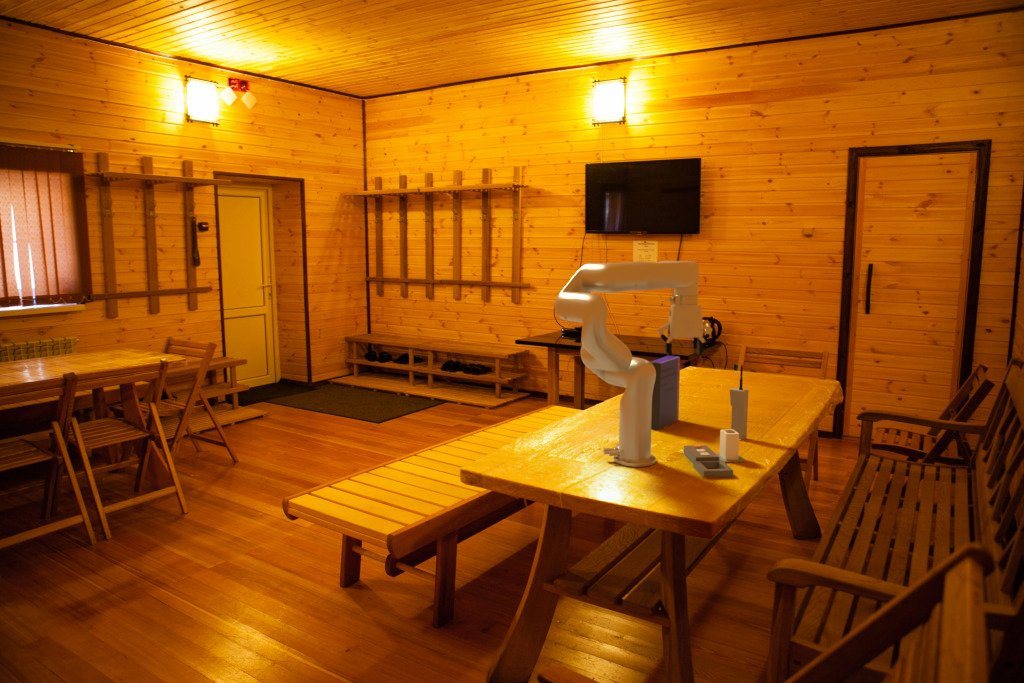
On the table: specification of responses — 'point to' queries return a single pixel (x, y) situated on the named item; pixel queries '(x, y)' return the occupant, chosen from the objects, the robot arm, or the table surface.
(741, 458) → the rubber mat
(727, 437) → the plug
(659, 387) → the cereal box
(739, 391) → the vintage mobile phone
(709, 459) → the charging dock
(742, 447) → the table surface
